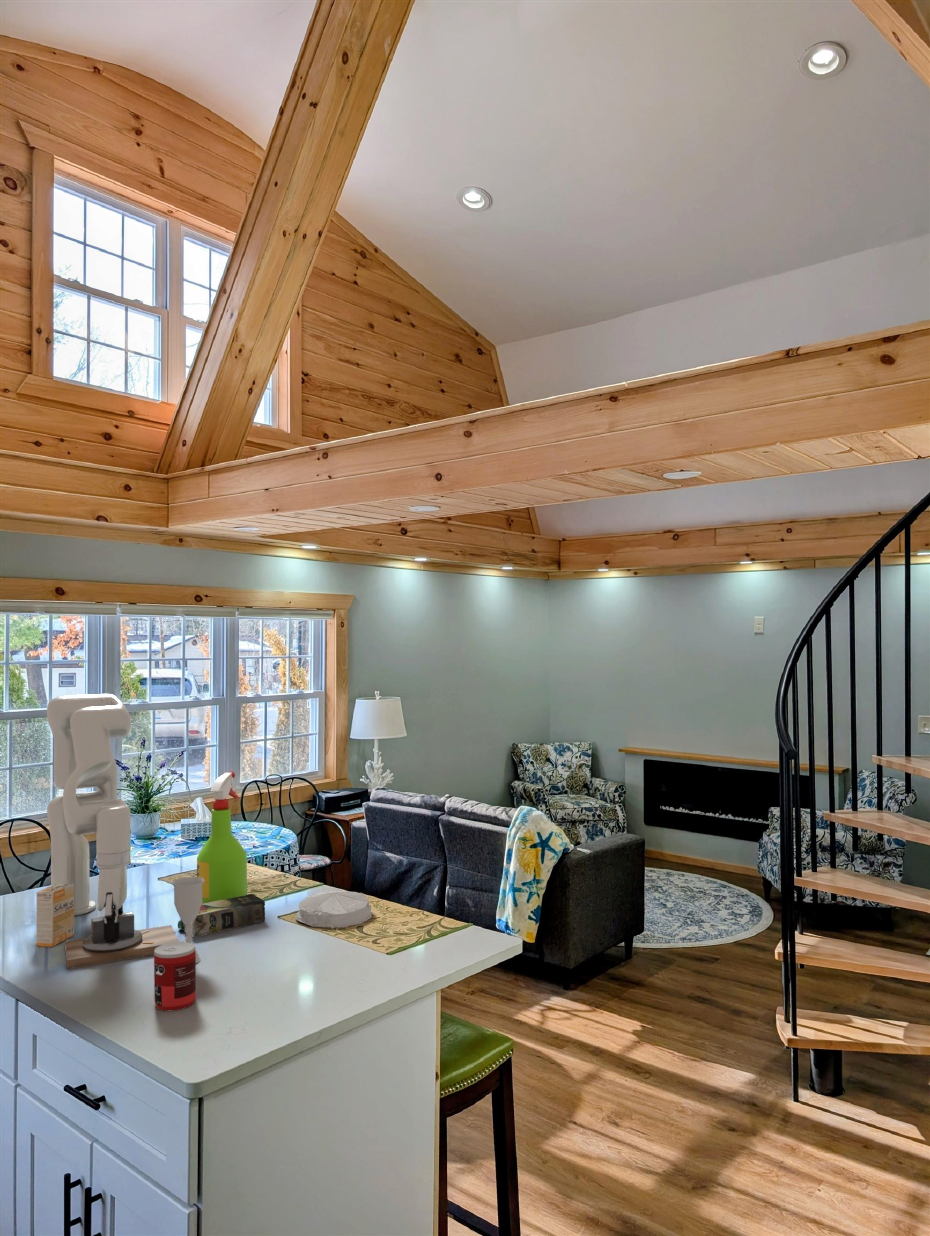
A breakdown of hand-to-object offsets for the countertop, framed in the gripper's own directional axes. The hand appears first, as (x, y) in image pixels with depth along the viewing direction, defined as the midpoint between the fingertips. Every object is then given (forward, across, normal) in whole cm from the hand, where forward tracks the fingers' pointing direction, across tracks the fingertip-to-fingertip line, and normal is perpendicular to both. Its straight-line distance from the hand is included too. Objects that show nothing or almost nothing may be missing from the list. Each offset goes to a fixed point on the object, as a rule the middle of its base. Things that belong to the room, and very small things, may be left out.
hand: (114, 935), depth 204 cm
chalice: (+4, +11, +18) cm, 21 cm away
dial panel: (+4, 0, +2) cm, 4 cm away
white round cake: (+4, -14, +52) cm, 54 cm away
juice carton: (+4, -14, +23) cm, 27 cm away
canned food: (+4, +34, +18) cm, 39 cm away
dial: (+2, 0, 0) cm, 2 cm away
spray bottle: (+4, -39, +22) cm, 45 cm away
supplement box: (+4, -11, -16) cm, 20 cm away
